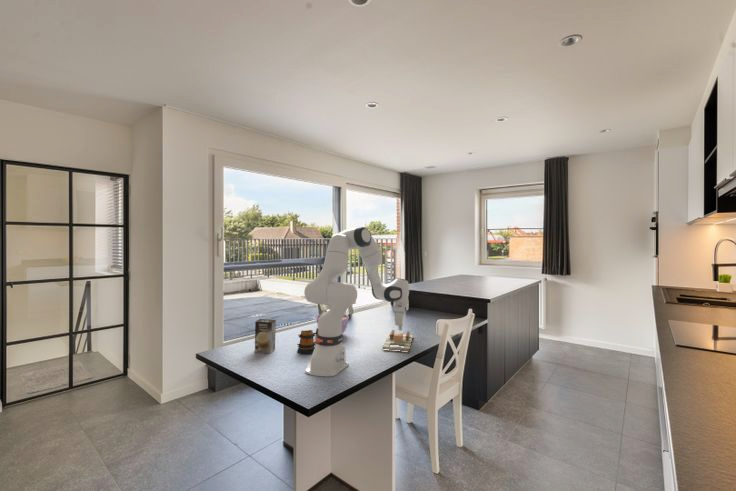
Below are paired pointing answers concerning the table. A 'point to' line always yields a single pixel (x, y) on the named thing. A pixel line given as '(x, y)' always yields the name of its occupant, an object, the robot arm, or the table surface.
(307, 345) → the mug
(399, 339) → the block
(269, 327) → the coffee box
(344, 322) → the bowl of food
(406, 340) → the tunnel board
